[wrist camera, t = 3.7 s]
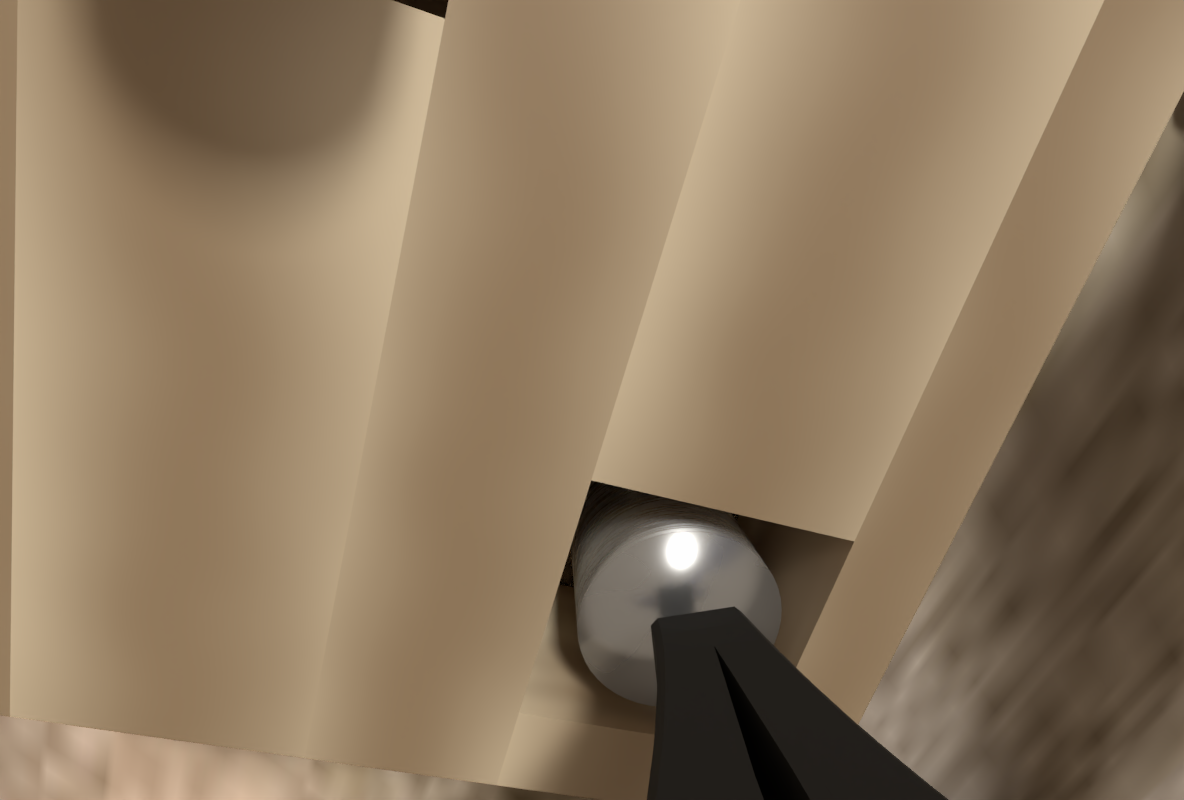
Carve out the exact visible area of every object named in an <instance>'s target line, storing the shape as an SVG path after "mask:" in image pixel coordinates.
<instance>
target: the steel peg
mask: <svg viewBox="0 0 1184 800" xmlns="http://www.w3.org/2000/svg"><path fill="white" fill-rule="evenodd" d="M571 554H572V567H573V580H574V592H575V605H576V618H577V631H578V641H579V646H580V650H581V653H582V655H583V658H584V660H585V662H586V664H587V666H588V667H589V669H590V671H591V672H592V673H593V674H594V675H595V677H596V678H597V679H598V680H599V681H600V682H601V683H602V684H603V685H604V686H606V687H607V688H608V689H610V690H611V691H613V692H614V693H616V694H618V695H620V696H622V697H624V698H626V699H628V700H631V701H634V702H636V703H640V704H645V705H649V706H656V701H657V680H656V670H655V661H654V652H653V643H652V633H651V625H652V624H653V622H654V621H655V620H656V619H657V618H662V617H669V616H675V615H682V614H688V613H695V612H701V611H708V610H714V609H721V608H727V607H734V606H735V607H736V608H737V609H738V610H740V611H741V612H742V613H743V614H744V615H745V616H746V617H747V618H748V619H749V620H750V621H751V622H752V623H753V624H754V626H755V627H756V628H757V629H758V630H759V631H760V632H761V633H762V634H763V635H764V636H765V637H766V638H767V639H768V640H769V641H770V642H771V643H772V644H773V645H774V643H775V640H776V638H777V635H778V632H779V628H780V623H781V613H782V607H781V597H780V593H779V589H778V586H777V584H776V581H775V579H774V577H773V575H772V574H771V572H770V570H769V569H768V567H767V566H766V564H765V563H764V561H763V560H762V558H761V557H760V555H759V554H758V552H757V551H756V549H755V548H754V546H753V545H752V543H751V542H750V540H749V539H748V537H747V536H746V534H745V533H744V531H743V530H742V528H741V527H740V525H739V524H738V522H737V521H736V519H735V518H734V516H733V515H732V513H730V512H725V511H721V510H717V509H712V508H708V507H704V506H700V505H695V504H691V503H687V502H682V501H678V500H674V499H669V498H665V497H661V496H657V495H652V494H648V493H644V492H639V491H635V490H631V489H626V488H622V487H618V486H614V485H609V484H605V483H601V482H596V481H592V480H591V483H590V486H589V489H588V492H587V496H586V499H585V502H584V505H583V509H582V512H581V515H580V518H579V521H578V525H577V528H576V531H575V534H574V537H573V541H572V544H571Z"/></svg>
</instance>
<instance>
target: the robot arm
mask: <svg viewBox="0 0 1184 800" xmlns="http://www.w3.org/2000/svg"><path fill="white" fill-rule="evenodd" d="M651 633H652V643H653V652H654V661H655V670H656V680H657V701H656V718H655V734H654V746H653V755H652V763H651V770H650V778H649V786H648V793H647V800H948V799H947V798H946V797H944V796H943V795H942V794H941V793H939V792H938V791H937V790H935V789H934V788H933V787H932V786H930V785H929V784H928V783H927V782H926V781H924V780H923V779H922V778H921V777H919V776H918V775H917V774H916V773H914V772H913V771H912V770H911V769H910V768H908V767H907V766H906V765H905V764H904V763H902V762H901V761H900V760H899V759H898V758H896V757H895V756H894V755H893V754H892V753H890V752H889V751H888V750H887V749H886V748H884V747H883V746H882V745H881V744H880V743H878V742H877V741H876V740H875V739H874V738H873V737H871V736H870V735H869V734H868V733H867V732H866V731H865V730H863V729H862V728H861V727H860V726H859V725H858V724H857V723H855V722H854V721H853V720H852V719H851V718H850V717H849V716H848V715H847V714H845V713H844V712H843V711H842V710H841V709H840V708H839V707H838V706H837V705H836V704H835V703H833V702H832V701H831V700H830V699H829V698H828V697H827V696H826V695H825V694H824V693H823V692H821V691H820V690H819V689H818V688H817V687H816V686H815V685H814V684H813V683H812V682H811V681H810V680H809V679H808V678H806V677H805V676H804V675H803V674H802V673H801V672H800V671H799V670H798V669H797V668H796V667H795V666H794V665H793V664H792V663H791V662H790V661H789V660H788V659H787V658H786V657H785V656H784V655H783V654H782V653H781V652H780V651H779V650H778V649H777V648H776V647H775V646H774V645H773V644H772V643H771V642H770V641H769V640H768V639H767V638H766V637H765V636H764V635H763V634H762V633H761V632H760V631H759V630H758V629H757V628H756V627H755V626H754V624H753V623H752V622H751V621H750V620H749V619H748V618H747V617H746V616H745V615H744V614H743V613H742V612H741V611H740V610H738V609H737V608H736V607H735V606H734V607H727V608H721V609H714V610H708V611H701V612H695V613H688V614H682V615H675V616H669V617H662V618H657V619H656V620H655V621H654V622H653V624H652V625H651Z"/></svg>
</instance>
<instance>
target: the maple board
mask: <svg viewBox="0 0 1184 800" xmlns="http://www.w3.org/2000/svg"><path fill="white" fill-rule="evenodd" d="M1183 92H1184V0H448V5H447V11H446V16H445V19H444V18H442V17H439V16H436V15H433V14H430V13H427V12H425V11H422V10H419V9H416V8H413V7H410V6H407V5H405V4H402V3H399V2H396V1H393V0H0V715H1V716H8V717H15V718H22V719H29V720H37V721H44V722H51V723H58V724H65V725H72V726H79V727H86V728H93V729H100V730H108V731H115V732H122V733H129V734H136V735H143V736H150V737H157V738H164V739H171V740H179V741H186V742H193V743H200V744H207V745H214V746H221V747H228V748H235V749H242V750H250V751H257V752H264V753H271V754H278V755H285V756H292V757H299V758H306V759H313V760H321V761H328V762H335V763H342V764H349V765H356V766H363V767H370V768H377V769H385V770H392V771H399V772H406V773H413V774H420V775H427V776H434V777H441V778H448V779H456V780H463V781H470V782H477V783H484V784H491V785H498V786H505V787H512V788H519V789H527V790H534V791H541V792H548V793H555V794H562V795H569V796H576V797H583V798H590V799H598V800H647V793H648V786H649V778H650V770H651V763H652V755H653V746H654V734H655V718H656V706H649V705H645V704H640V703H636V702H634V701H631V700H628V699H626V698H624V697H622V696H620V695H618V694H616V693H614V692H613V691H611V690H610V689H608V688H607V687H606V686H604V685H603V684H602V683H601V682H600V681H599V680H598V679H597V678H596V677H595V675H594V674H593V673H592V672H591V671H590V669H589V667H588V666H587V664H586V662H585V660H584V658H583V655H582V653H581V650H580V646H579V641H578V631H577V618H576V605H575V592H574V587H570V586H565V585H560V584H559V583H560V579H561V576H562V573H563V570H564V566H565V563H566V560H567V557H568V554H569V550H570V547H571V544H572V541H573V537H574V534H575V531H576V528H577V525H578V521H579V518H580V515H581V512H582V509H583V505H584V502H585V499H586V496H587V492H588V489H589V486H590V483H591V480H592V481H596V482H601V483H605V484H609V485H614V486H618V487H622V488H626V489H631V490H635V491H639V492H644V493H648V494H652V495H657V496H661V497H665V498H669V499H674V500H678V501H682V502H687V503H691V504H695V505H700V506H704V507H708V508H712V509H717V510H721V511H725V512H730V513H734V514H738V515H739V517H738V519H737V522H738V524H739V525H740V527H741V528H742V530H743V531H744V533H745V534H746V536H747V537H748V539H749V540H750V542H751V543H752V545H753V546H754V548H755V549H756V551H757V552H758V554H759V555H760V557H761V558H762V560H763V561H764V563H765V564H766V566H767V567H768V569H769V570H770V572H771V574H772V575H773V577H774V579H775V581H776V584H777V586H778V589H779V593H780V597H781V607H782V613H781V623H780V628H779V632H778V635H777V638H776V640H775V643H774V646H775V647H776V648H777V649H778V650H779V651H780V652H781V653H782V654H783V655H784V656H785V657H786V658H787V659H788V660H789V661H790V662H791V663H792V664H793V665H794V666H795V667H796V668H797V669H798V670H799V671H800V672H801V673H802V674H803V675H804V676H805V677H806V678H808V679H809V680H810V681H811V682H812V683H813V684H814V685H815V686H816V687H817V688H818V689H819V690H820V691H821V692H823V693H824V694H825V695H826V696H827V697H828V698H829V699H830V700H831V701H832V702H833V703H835V704H836V705H837V706H838V707H839V708H840V709H841V710H842V711H843V712H844V713H845V714H847V715H848V716H849V717H850V718H851V719H852V720H853V721H854V722H855V723H857V724H859V722H860V720H861V718H862V716H863V714H864V712H865V710H866V708H867V706H868V704H869V702H870V700H871V698H872V697H873V695H874V693H875V691H876V689H877V687H878V685H879V683H880V681H881V679H882V677H883V675H884V673H885V671H886V669H887V667H888V665H889V664H890V662H891V660H892V658H893V656H894V654H895V652H896V650H897V648H898V646H899V644H900V642H901V640H902V638H903V636H904V634H905V632H906V630H907V629H908V627H909V625H910V623H911V621H912V619H913V617H914V615H915V613H916V611H917V609H918V607H919V605H920V603H921V601H922V599H923V597H924V595H925V594H926V592H927V590H928V588H929V586H930V584H931V582H932V580H933V578H934V576H935V574H936V572H937V570H938V568H939V566H940V564H941V562H942V560H943V559H944V557H945V555H946V553H947V551H948V549H949V547H950V545H951V543H952V541H953V539H954V537H955V535H956V533H957V531H958V529H959V527H960V525H961V524H962V522H963V520H964V518H965V516H966V514H967V512H968V510H969V508H970V506H971V504H972V502H973V500H974V498H975V496H976V494H977V492H978V490H979V489H980V487H981V485H982V483H983V481H984V479H985V477H986V475H987V473H988V471H989V469H990V467H991V465H992V463H993V461H994V459H995V457H996V455H997V454H998V452H999V450H1000V448H1001V446H1002V444H1003V442H1004V440H1005V438H1006V436H1007V434H1008V432H1009V430H1010V428H1011V426H1012V424H1013V422H1014V420H1015V419H1016V417H1017V415H1018V413H1019V411H1020V409H1021V407H1022V405H1023V403H1024V401H1025V399H1026V397H1027V395H1028V393H1029V391H1030V389H1031V387H1032V385H1033V384H1034V382H1035V380H1036V378H1037V376H1038V374H1039V372H1040V370H1041V368H1042V366H1043V364H1044V362H1045V360H1046V358H1047V356H1048V354H1049V352H1050V351H1051V349H1052V347H1053V345H1054V343H1055V341H1056V339H1057V337H1058V335H1059V333H1060V331H1061V329H1062V327H1063V325H1064V323H1065V321H1066V319H1067V317H1068V316H1069V314H1070V312H1071V310H1072V308H1073V306H1074V304H1075V302H1076V300H1077V298H1078V296H1079V294H1080V292H1081V290H1082V288H1083V286H1084V284H1085V282H1086V281H1087V279H1088V277H1089V275H1090V273H1091V271H1092V269H1093V267H1094V265H1095V263H1096V261H1097V259H1098V257H1099V255H1100V253H1101V251H1102V249H1103V247H1104V246H1105V244H1106V242H1107V240H1108V238H1109V236H1110V234H1111V232H1112V230H1113V228H1114V226H1115V224H1116V222H1117V220H1118V218H1119V216H1120V214H1121V212H1122V211H1123V209H1124V207H1125V205H1126V203H1127V201H1128V199H1129V197H1130V195H1131V193H1132V191H1133V189H1134V187H1135V185H1136V183H1137V181H1138V179H1139V177H1140V176H1141V174H1142V172H1143V170H1144V168H1145V166H1146V164H1147V162H1148V160H1149V158H1150V156H1151V154H1152V152H1153V150H1154V148H1155V146H1156V144H1157V142H1158V141H1159V139H1160V137H1161V135H1162V133H1163V131H1164V129H1165V127H1166V125H1167V123H1168V121H1169V119H1170V117H1171V115H1172V113H1173V111H1174V109H1175V107H1176V106H1177V104H1178V102H1179V100H1180V98H1181V96H1182V94H1183Z"/></svg>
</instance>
